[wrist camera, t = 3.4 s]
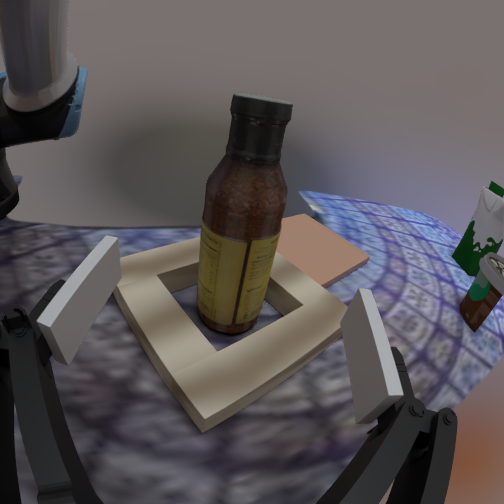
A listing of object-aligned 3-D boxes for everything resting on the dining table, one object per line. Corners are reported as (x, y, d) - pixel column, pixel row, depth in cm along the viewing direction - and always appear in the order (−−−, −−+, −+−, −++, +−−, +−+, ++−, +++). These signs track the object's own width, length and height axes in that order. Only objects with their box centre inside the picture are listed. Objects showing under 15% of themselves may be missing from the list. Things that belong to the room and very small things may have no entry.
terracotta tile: (241, 235, 41) (242, 228, 40) (302, 219, 49) (304, 213, 49) (315, 294, 33) (318, 286, 32) (367, 262, 42) (370, 256, 41)
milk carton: (466, 257, 55) (499, 186, 44) (486, 280, 47) (525, 204, 36) (446, 253, 53) (482, 175, 42) (468, 278, 46) (511, 194, 35)
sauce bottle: (253, 293, 31) (302, 104, 20) (262, 338, 26) (333, 115, 15) (192, 289, 29) (220, 88, 19) (191, 335, 24) (224, 91, 14)
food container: (463, 289, 41) (489, 245, 36) (485, 308, 37) (513, 264, 32) (446, 312, 35) (480, 258, 29) (472, 336, 31) (510, 283, 25)
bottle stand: (108, 284, 27) (105, 262, 25) (239, 245, 38) (243, 226, 37) (202, 433, 17) (204, 419, 15) (344, 333, 28) (356, 313, 27)
